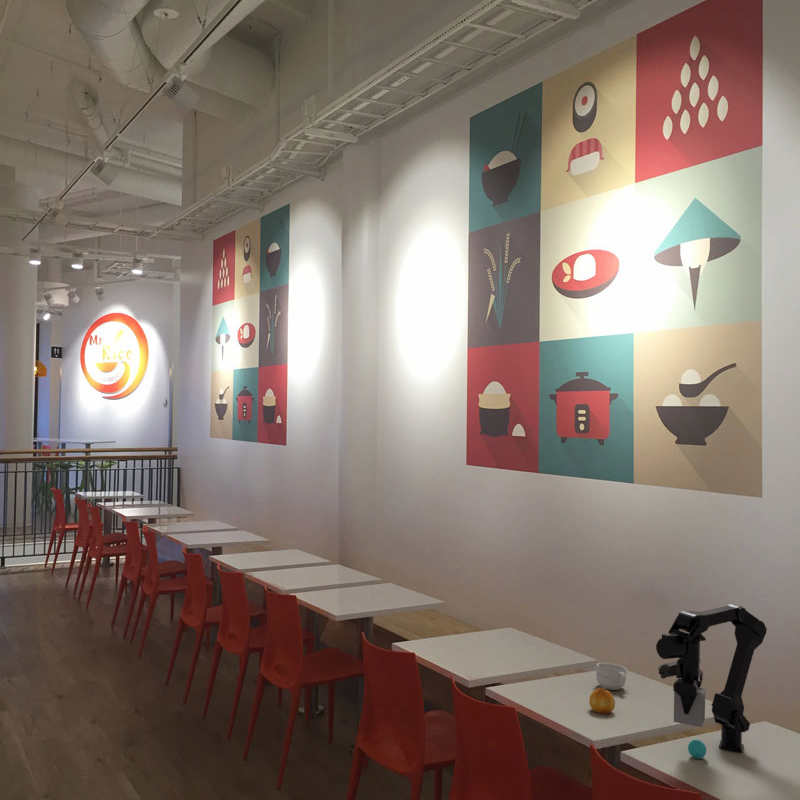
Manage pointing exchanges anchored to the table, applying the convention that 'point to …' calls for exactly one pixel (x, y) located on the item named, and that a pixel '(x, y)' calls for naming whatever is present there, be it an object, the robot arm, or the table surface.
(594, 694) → the fruit
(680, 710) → the gray wedge-topped block
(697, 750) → the ball
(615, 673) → the teacup
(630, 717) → the table surface
